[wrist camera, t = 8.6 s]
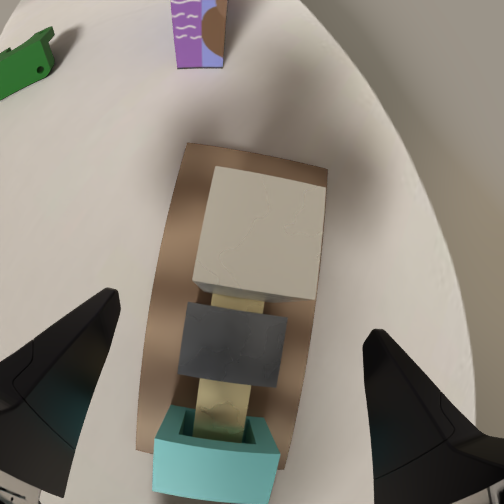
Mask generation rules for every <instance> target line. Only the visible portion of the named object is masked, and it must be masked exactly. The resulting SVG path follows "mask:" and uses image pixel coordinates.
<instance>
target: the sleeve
mask: <svg viewBox="0 0 504 504" xmlns="http://www.w3.org/2000/svg"><path fill="white" fill-rule="evenodd" d="M287 319H288V317H282V316H275V315H269V314H260V313H253V312H246V311H240V310H233V309H227V308H221V307H215V306H211V305H205V304H200V303H194V302H188V303H187V310H186V316H185V322H184V329H183V336H182V342H181V350H180V357H179V364H178V372H177V374H180V375H186V376H191V377H197V378H202V379H208V380H215V381H221V382H228V383H236V384H244V385H253V386H262V387H273V388H276V387H277V381H278V376H279V370H280V364H281V358H282V352H283V345H284V339H285V333H286V326H287Z"/></svg>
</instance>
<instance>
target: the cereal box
mask: <svg viewBox="0 0 504 504" xmlns="http://www.w3.org/2000/svg"><path fill="white" fill-rule="evenodd" d="M227 6H228V0H171V12H172V23H173V33H174V43H175V52H176V60H177V69H194V68H223V55H224V41H225V29H226V17H227Z"/></svg>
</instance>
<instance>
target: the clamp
mask: <svg viewBox="0 0 504 504" xmlns="http://www.w3.org/2000/svg"><path fill="white" fill-rule="evenodd" d="M54 35H55V34H54V30H53V27H52V26H51V27H48V28H46V29H44V30H42V31H40V32H38V33H36V34H34V35H33V36H32V37H31V38H30V39H29V40H27V41H26V42H25V43H23V44H22V45H20V46H18V47H17V48H15V49H14V50H12V51H11V49H10V48H8V49H6V50H5V51H3V52H1V53H0V100H2V99H3V98H5V97H7V96H9V95H10V94H12V93H14V92H16V91H18V90H20V89H22V88H24V87H26V86H28V85H30V84H32V83H34V82H36V81H38V80H40V79H43V78H45V77H46V76H47V75H48V74H49V72H50V70H51V69H52V67H53V66H54V62H55V61H54V57H53V54H52V52H51V49H50V46H49V43H48V42H49V41H50V40H51V39H52V38H53V36H54Z"/></svg>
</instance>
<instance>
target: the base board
mask: <svg viewBox="0 0 504 504" xmlns="http://www.w3.org/2000/svg"><path fill="white" fill-rule="evenodd" d="M215 166H220V167H226V168H232V169H237V170H243V171H249V172H254V173H259V174H265V175H270V176H275V177H280V178H285V179H289V180H294V181H299V182H303V183H308V184H312V185H316V186H321V187H325V188H326V191H327V174H328V169H325V168H321V167H317V166H313V165H308V164H304V163H300V162H295V161H291V160H286V159H282V158H277V157H272V156H267V155H262V154H257V153H251V152H246V151H240V150H234V149H228V148H222V147H216V146H209V145H202V144H195V143H187V145H186V149H185V152H184V155H183V159H182V162H181V166H180V170H179V173H178V177H177V181H176V184H175V188H174V192H173V196H172V200H171V204H170V208H169V212H168V216H167V221H166V225H165V229H164V234H163V238H162V243H161V248H160V252H159V257H158V262H157V267H156V273H155V278H154V284H153V289H152V295H151V301H150V307H149V313H148V320H147V327H146V334H145V342H144V349H143V358H142V367H141V376H140V387H139V399H138V413H137V431H136V450H138V451H142V452H146V453H150V454H154V439H155V436H156V434H157V432H158V430H159V428H160V426H161V424H162V422H163V420H164V417H165V415H166V413H167V411H168V409H169V407H170V405H175V406H180V407H186V408H191V409H196V404H197V396H198V388H199V381H200V378H197V377H191V376H186V375H180V374H177V372H178V364H179V357H180V350H181V342H182V336H183V329H184V322H185V316H186V310H187V303H188V302H194V303H200V304H205V305H211V301H212V295H213V293H208V292H204V291H203V290H202V289H201V288H199V287H198V286H197V285H196V284H195V283H194V282H193V281H192V278H193V273H194V267H195V262H196V256H197V251H198V246H199V240H200V235H201V230H202V225H203V220H204V216H205V211H206V206H207V201H208V197H209V192H210V188H211V183H212V179H213V174H214V170H215ZM325 206H326V195H325ZM324 219H325V209H324ZM323 231H324V222H323ZM322 242H323V234H322ZM321 252H322V244H321ZM320 262H321V254H320ZM319 271H320V264H319ZM318 280H319V273H318ZM317 288H318V281H317ZM316 296H317V290H316ZM315 304H316V298H315V300H308V301H295V302H280V303H270V302H264V309H263V314H269V315H275V316H282V317H288V319H287V326H286V333H285V339H284V345H283V352H282V358H281V364H280V370H279V376H278V381H277V387H276V388H273V387H262V386H253V385H251V391H250V397H249V403H248V409H247V414H246V416H251V417H262V418H264V419H265V421H266V423H267V425H268V428H269V430H270V432H271V434H272V437H273V439H274V441H275V443H276V445H277V448H278V450H279V452H280V459H279V463H278V467H277V469H278V470H284V468H285V464H286V460H287V456H288V452H289V447H290V443H291V439H292V434H293V430H294V425H295V421H296V416H297V411H298V406H299V401H300V396H301V391H302V386H303V380H304V375H305V369H306V363H307V357H308V351H309V345H310V339H311V332H312V326H313V319H314V311H315Z"/></svg>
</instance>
